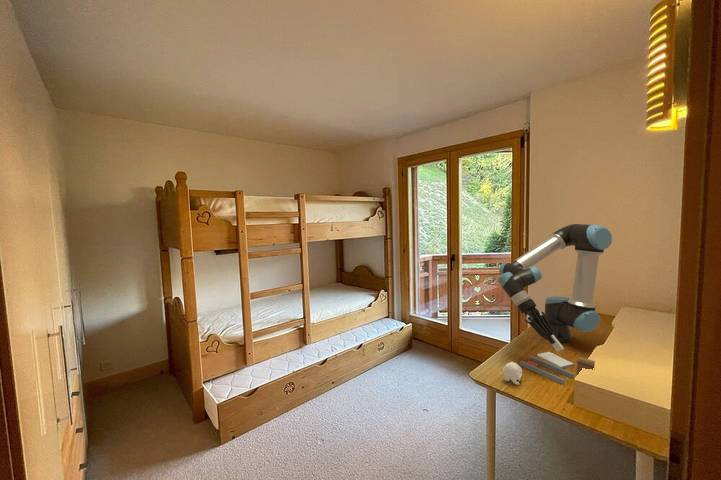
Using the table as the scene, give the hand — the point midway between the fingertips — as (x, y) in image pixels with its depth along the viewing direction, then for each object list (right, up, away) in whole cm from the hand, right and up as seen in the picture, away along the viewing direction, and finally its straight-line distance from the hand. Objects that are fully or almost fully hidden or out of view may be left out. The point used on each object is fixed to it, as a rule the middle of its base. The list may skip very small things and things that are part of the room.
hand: (560, 350), depth 126 cm
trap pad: (-6, -11, +11) cm, 17 cm away
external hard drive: (+7, -11, +15) cm, 20 cm away
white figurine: (-20, -13, 0) cm, 24 cm away
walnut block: (+6, -13, -6) cm, 15 cm away
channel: (-3, -12, +6) cm, 13 cm away
